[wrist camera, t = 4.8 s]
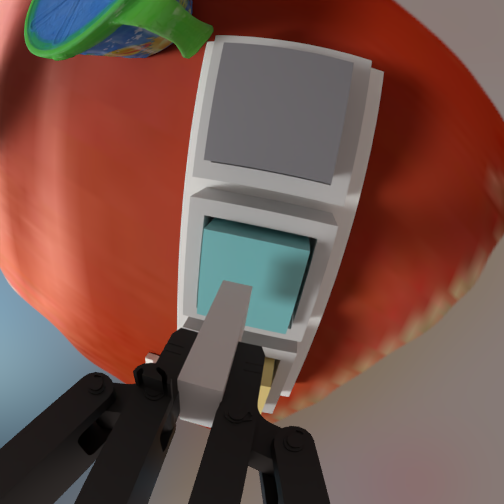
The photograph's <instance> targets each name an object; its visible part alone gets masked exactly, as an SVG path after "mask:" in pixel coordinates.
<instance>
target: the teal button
mask: <svg viewBox="0 0 504 504" xmlns="http://www.w3.org/2000/svg"><path fill="white" fill-rule="evenodd" d="M309 254H310V245H309V237H307V236H303V235H298V234H294V233H289V232H284V231H280V230H275V229H270V228H266V227H261V226H256V225H251V224H246V223H241V222H236V221H231V220H226V219H221V218H216V217H215V218H214V219H213V220H212V221H211V222H210V223H209V224H208V225H207V226H206V227H205V228H204V232H203V242H202V252H201V264H200V275H199V288H198V302H197V314H200V315H203V316H207V314H208V311H209V309H210V307H211V305H212V303H213V301H214V299H215V297H216V294H217V292H218V290H219V288H220V286H221V284H222V282H223V280H225V281H230V282H234V283H239V284H244V285H248V286H253V287H252V292H251V298H250V303H249V308H248V313H247V318H246V323H245V326H249V327H253V328H258V329H262V330H267V331H272V332H277V333H281V334H286V332H287V329H288V326H289V323H290V319H291V316H292V313H293V310H294V306H295V303H296V300H297V296H298V293H299V289H300V286H301V282H302V279H303V275H304V272H305V268H306V265H307V261H308V257H309Z"/></svg>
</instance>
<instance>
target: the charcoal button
mask: <svg viewBox="0 0 504 504" xmlns="http://www.w3.org/2000/svg"><path fill="white" fill-rule="evenodd" d="M353 65H354V63H353V62H349V61H346V60H342V59H338V58H334V57H330V56H325V55H321V54H316V53H311V52H306V51H300V50H295V49H288V48H282V47H274V46H266V45H257V44H245V43H228V42H224V44H223V49H222V54H221V59H220V64H219V69H218V74H217V79H216V85H215V90H214V96H213V102H212V108H211V114H210V120H209V127H208V133H207V140H206V147H205V154H204V160H208V161H215V162H221V163H228V164H234V165H240V166H246V167H252V168H257V169H263V170H268V171H273V172H278V173H283V174H288V175H293V176H298V177H302V178H307V179H311V180H315V181H320V182H324V183H328V184H331V183H332V178H333V174H334V169H335V165H336V160H337V155H338V151H339V146H340V141H341V136H342V131H343V125H344V120H345V115H346V109H347V103H348V97H349V91H350V85H351V79H352V72H353Z"/></svg>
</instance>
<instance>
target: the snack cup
mask: <svg viewBox="0 0 504 504" xmlns="http://www.w3.org/2000/svg"><path fill="white" fill-rule="evenodd" d="M192 3H193V2H192V0H32V2H31V4H30V7H29V9H28V13H27V16H26V20H25V27H24V37H25V43H26V45H27V47H28V49H29V51H30V52H31V53H32V54H34V55H36V56H39V57H42V58H49V59H53V60H55V61H59V60H65V59H68V58H71V57H74V56H75V55H78V54H83V55H98V56H114V57H125V58H147V57H148V56H150V55H152V54H155V53H158V52H160V51H161V50H163V49H165V48H167V47H168V46H169V45H171V44H172V43H174V44H175V45H176V46H177V47H178V49H179V50H180V52H181V54H182V56H183V57H184V58H188V59H189V58H190V57H192V56H193V55H195V54H196V53H197V52H198V51H199V49H200V48H201V47H202V46H203V44H204V43H205V42H206V41H207V40H208V39H209V38H210V36H211V34H212V33H213V26H212V25H209V24H206V23H204V22H202V21H200V20H198V19H196V18H195V17H193V16H192Z"/></svg>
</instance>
